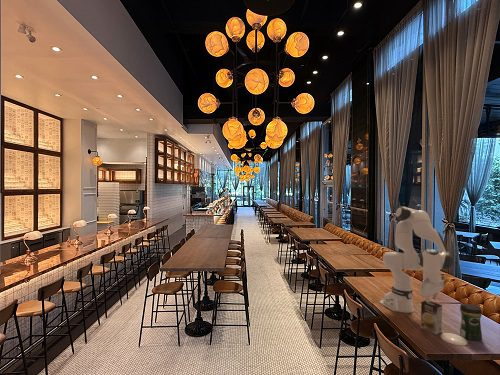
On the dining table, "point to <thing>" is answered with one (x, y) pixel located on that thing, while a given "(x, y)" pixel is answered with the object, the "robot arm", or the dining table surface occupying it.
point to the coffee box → (431, 317)
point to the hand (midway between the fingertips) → (431, 300)
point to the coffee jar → (470, 322)
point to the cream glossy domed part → (454, 339)
